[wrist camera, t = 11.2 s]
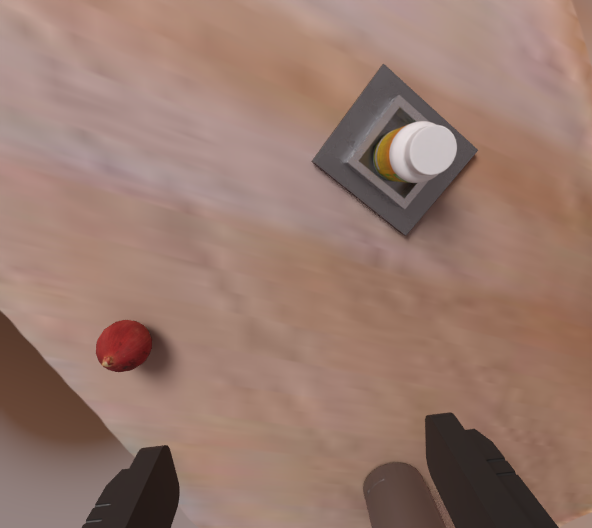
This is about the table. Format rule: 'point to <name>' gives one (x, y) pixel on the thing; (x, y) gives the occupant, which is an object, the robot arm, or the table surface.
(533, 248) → the table surface
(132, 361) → the red fruit
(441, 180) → the plate
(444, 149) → the supplement bottle
